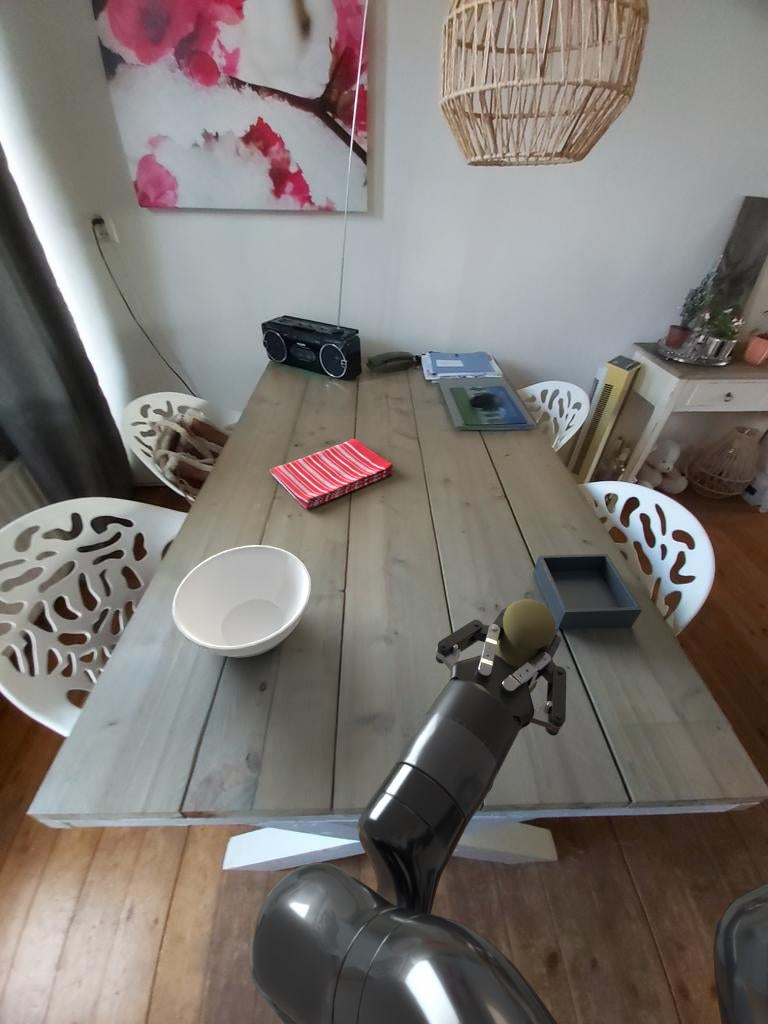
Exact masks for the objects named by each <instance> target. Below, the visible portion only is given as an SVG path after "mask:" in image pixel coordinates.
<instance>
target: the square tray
mask: <svg viewBox="0 0 768 1024" xmlns="http://www.w3.org/2000/svg"><path fill="white" fill-rule="evenodd" d="M532 573H533V576H534V578H535V579H536V583H537V585H538V587H539V589H540V591H541V594H542V596H543V599H544V601H545V603H546V607H547V608H548V609H549V610H550V612H551V614H552V615H553V617H554V620H555V628H556V629H557V630H575V629H578V630H579V629H602V628H603V629H604V628H605V629H607V628H631V627H633V626H634V624H635V622H636V621H637V619H639V616H640V615H641V613H642V611H643V609H642V607H641V605H640V604H639V602H638V600H637V599H636V598H635V595H634V594H633V593H632V591H631V589H630V587H629V586H628V585H627V583H626V582H625V580H624V579H623V577H622V575H621V574H620V572H619V570H618V569H617V568H616V565H615V564H614V562H613V561H612V560H611V558H610V556H609V554H608V553H588V554H587V553H586V554H584V553H583V554H547V555H546V554H545V555H542V554H541V555H538V557H537V560H536V563H535V566H534V569H533V571H532Z"/></svg>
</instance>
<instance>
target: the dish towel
mask: <svg viewBox="0 0 768 1024" xmlns="http://www.w3.org/2000/svg"><path fill="white" fill-rule="evenodd" d="M393 469H394V466H393V463H391V462H390V461H389V460H387V459H385V458H383V457H382V456H380V455H379V454H378V453H376V452H375V451H373V450H372V449H370V447H369V448H368V446H366V445H365V444H364V443H362V442H361V441H360V440H359V439H356V438H352V439H349V440H347V441H345V442H343V443H340V444H337V445H334V446H331V447H329V448H326V449H324V450H320V451H318V452H315V453H312V454H310V455H307V456H305V457H301V458H299V459H296V460H293V461H291V462H288V463H285V464H281V465H278V466H276V467H273V468H270V469H269V472H270V473H271V475H272V477H274V478H275V479H276V480H277V482H278V483H279V484H280V485H282V486H283V488H285V490H286V491H287V492H288V493H289V494H290V495H291V496H292V498H293V499H295V500H296V501H297V503H298V504H300V505H301V506H302V507H303V508H304V509H305V510H306V511H308V510H311V509H313V508H316V507H318V506H320V505H323V504H326V503H328V502H329V501H331V500H334V499H337V498H339V497H341V496H344V495H346V494H349V493H351V492H354V491H357V490H359V489H362V488H364V487H366V486H368V485H371V484H373V483H376V482H378V481H380V480H383V479H386V478H387V477H390V476H392V475H393V471H392V470H393Z"/></svg>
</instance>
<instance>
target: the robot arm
mask: <svg viewBox="0 0 768 1024" xmlns="http://www.w3.org/2000/svg"><path fill="white" fill-rule="evenodd" d="M507 608H508V607H504V608H503V609H502V610H501V611H500V612H499V614H498V615H497V617H496V619H495V620H494V621H493V622H492V624H489V625H488V624H483V622H482V621H481V620H480V619H473V620H471V621H470V622H468V623H467V624H465V625H463V626H462V627H460V628H458V629H457V630H455V631H453V632H452V633H450V634H449V635H447V636H445V637H444V638H442V639H441V640H439V641H438V642H437V647H436V651H435V660H436V662H437V663H438V664H444V665H445V666H446V667H447V668H448V669H449V671H450V678H449V680H448V682H447V683H446V684H445V686H444V687H443V689H442V690H441V692H440V694H439V695H438V696H437V697H436V699H435V700H434V702H433V704H432V705H431V706H430V707H429V709H428V710H427V712H426V713H425V715H424V716H423V718H422V719H421V720H420V722H419V723H418V725H417V726H416V727H415V729H414V730H413V731H412V733H411V735H410V736H409V738H408V739H407V741H406V743H405V745H404V747H403V749H402V751H401V753H400V755H399V756H398V758H397V760H396V762H395V764H394V765H393V766H392V768H391V769H390V771H389V772H388V773H387V775H386V777H385V778H384V779H383V781H382V782H381V784H380V786H379V787H378V788H377V790H376V792H375V793H373V795H372V797H371V798H370V800H369V801H368V802H367V804H366V805H365V807H364V808H363V810H362V812H361V814H360V816H359V818H358V821H357V824H356V825H357V826H356V831H357V832H356V833H357V836H358V840H359V842H360V845H361V846H362V847H361V848H362V849H363V851H364V853H365V854H366V855H365V856H367V859H368V860H369V862H370V865H371V867H372V869H373V873H374V875H375V878H376V879H375V880H376V891H375V890H374V889H372V888H371V887H370V886H369V885H367V884H365V883H364V882H362V881H361V880H359V879H358V878H356V877H355V876H354V875H352V874H350V873H348V872H347V871H346V870H345V869H342V868H341V867H338V866H336V865H334V864H331V863H327V862H313V863H308V864H304V865H302V866H299V867H297V868H296V869H294V870H292V871H291V872H289V873H288V874H286V875H285V876H284V877H283V878H281V879H280V881H278V883H277V884H275V886H274V887H273V888H272V889H271V891H270V892H269V893H268V894H267V896H266V898H265V899H264V901H263V902H262V904H261V906H260V908H259V910H258V912H257V914H256V917H255V919H254V922H253V925H252V930H251V934H250V937H249V944H248V966H249V972H250V977H251V979H252V983H253V985H254V986H255V989H256V990H257V992H258V993H259V995H261V997H262V998H263V1000H264V1001H265V1003H267V1004H268V1006H269V1008H270V1009H271V1010H272V1011H273V1012H274V1013H275V1014H276V1016H277V1017H278V1018H279V1019H280V1021H281V1022H282V1023H283V1024H558V1022H557V1020H556V1019H555V1018H554V1016H553V1015H552V1014H551V1012H550V1010H549V1009H548V1008H547V1006H546V1005H545V1003H544V1001H543V1000H542V999H541V997H540V996H539V995H538V993H537V992H536V991H535V989H534V988H533V986H531V985H530V983H529V982H528V980H527V979H526V977H524V974H523V973H521V971H520V970H519V969H518V968H517V967H516V966H515V964H513V962H512V961H511V960H510V959H509V958H508V957H507V956H506V955H505V954H504V953H503V952H502V951H501V950H500V949H498V947H496V946H495V945H494V944H493V943H492V942H491V941H490V940H489V939H488V938H486V937H485V936H484V935H481V934H480V933H478V932H477V931H476V930H474V929H472V928H471V927H469V926H467V925H465V924H463V923H461V922H458V921H456V920H453V919H450V918H446V917H443V916H440V915H436V914H432V910H433V905H434V902H435V899H436V894H437V890H438V887H439V884H440V881H441V879H442V878H441V877H442V875H443V873H444V871H445V869H446V867H447V865H448V863H449V862H450V860H451V858H452V856H453V854H454V852H455V850H456V848H457V846H458V844H459V842H460V840H461V838H462V837H463V835H464V833H465V831H466V828H467V827H468V825H469V823H470V822H471V821H472V819H473V818H474V816H475V815H476V813H477V812H478V810H479V809H480V807H481V806H482V805H483V803H484V801H485V799H486V798H487V796H488V794H489V793H490V792H491V790H492V789H493V786H494V782H495V780H496V778H497V776H498V775H499V772H500V770H501V768H502V766H503V764H504V762H505V760H506V758H507V756H508V754H509V752H510V751H511V749H512V746H513V745H514V742H515V740H516V739H517V737H518V735H519V733H520V731H521V730H523V729H524V728H526V727H528V726H529V725H530V724H535V725H537V726H540V727H544V728H545V731H546V733H547V734H548V735H550V736H553V737H555V736H557V735H558V734H559V732H560V731H561V729H562V728H563V725H564V724H565V723H566V719H567V671H566V669H565V668H564V667H562V666H560V665H557V664H556V663H555V662H554V660H553V658H554V656H555V654H556V653H557V650H558V649H559V646H560V644H561V642H562V637H561V635H558V633H559V629H557V628H555V632H554V636H553V638H552V639H551V640H550V641H549V643H548V644H547V645H545V646H543V647H541V648H540V650H539V652H538V655H537V656H536V657H535V658H533V659H532V660H531V661H528V662H526V663H525V664H524V665H523V666H522V667H521V668H518V667H516V666H514V665H511V664H508V663H506V662H505V661H504V660H503V659H502V658H501V657H499V656H498V655H496V654H495V652H496V648H497V643H498V640H500V639H501V637H502V635H503V633H504V627H503V617H504V614H505V611H506V609H507ZM478 642H482V643H484V645H483V648H482V652H481V655H476V656H473V657H470V658H466V659H463V660H459V659H460V656H461V653H462V652H463V651H465V650H467V649H468V648H470V647H471V646H473V645H474V644H476V643H478ZM541 678H544V680H546V682H547V683H546V685H547V687H546V690H547V691H546V701H543V702H542V703H541V705H540V707H539V708H535V706H534V702H533V699H532V694H531V693H530V690H529V689H530V688H531V687H532V685H533V684H534V683H535V682H536V681H537V682H538V681H539V679H541ZM712 950H713V966H714V969H713V970H714V980H715V981H714V982H715V987H716V989H715V990H716V996H717V998H716V999H717V1003H718V1010H719V1016H720V1022H721V1024H768V882H767V883H763V884H761V885H757V886H755V887H753V888H751V889H749V890H748V891H746V892H745V893H743V894H742V895H740V896H738V897H737V898H735V899H733V900H732V901H731V902H730V903H729V905H728V907H727V908H726V909H725V911H724V912H723V914H722V915H721V917H720V918H719V919H718V921H717V924H716V928H715V932H714V938H713V947H712Z"/></svg>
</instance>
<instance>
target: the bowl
mask: <svg viewBox="0 0 768 1024" xmlns="http://www.w3.org/2000/svg"><path fill="white" fill-rule="evenodd" d="M311 593H312V580H311V575H310V573H309V570H308V568H307V567H306V565H305V564H304V563H303V562H302V561H301V560H300V559H299V557H297V556H295V554H293V553H291V552H289V551H287V550H285V549H283V548H279V547H275V546H271V545H262V544H261V545H260V544H251V545H244V546H236V547H233V548H229V549H227V550H223V551H221V552H219V553H216V554H214V555H212V556H210V557H208V558H207V559H205V560H202V561H201V562H200V563H199V564H198V565H196V566H195V567H194V568H193V569H191V570H190V571H189V573H187V575H185V577H184V578H183V579H182V581H181V583H180V584H179V585H178V587H177V589H176V591H175V594H174V597H173V599H172V607H171V608H172V609H171V612H172V618H173V622H174V625H175V626H176V628H177V630H178V632H179V633H180V634H181V635H182V636H183V637H184V638H185V639H186V640H188V642H189V641H190V642H191V643H192V644H194V645H196V646H197V647H199V648H201V649H202V650H205V651H206V652H208V653H210V654H213V655H217V656H221V657H229V658H240V659H241V658H250V657H255V656H259V655H262V654H264V653H267V652H269V651H270V650H272V649H274V648H276V647H278V645H279V644H281V643H282V642H283V641H285V639H286V638H287V637H289V635H291V633H292V632H293V631H294V629H296V628H297V626H298V625H299V623H300V621H301V619H302V617H303V615H304V614H305V612H306V609H307V606H308V604H309V601H310V598H311Z"/></svg>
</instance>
